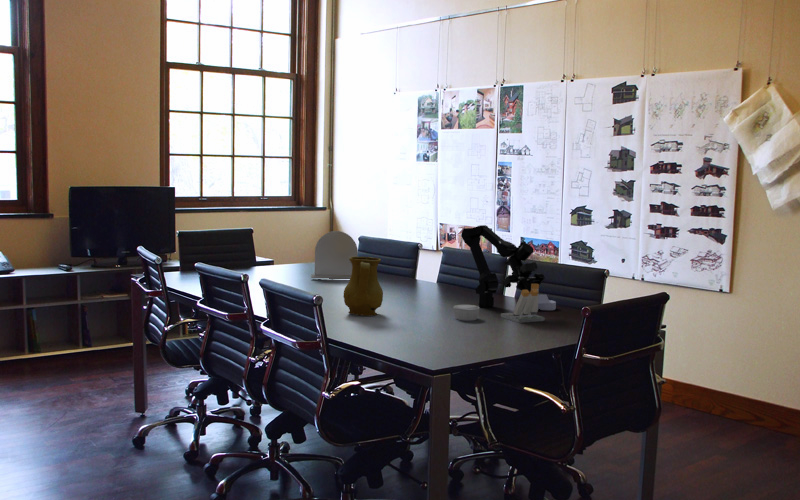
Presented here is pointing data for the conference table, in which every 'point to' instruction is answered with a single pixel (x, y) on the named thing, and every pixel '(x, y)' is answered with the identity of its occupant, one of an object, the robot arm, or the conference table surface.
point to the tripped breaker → (535, 305)
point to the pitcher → (363, 287)
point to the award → (334, 256)
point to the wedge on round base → (545, 303)
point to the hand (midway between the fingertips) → (531, 295)
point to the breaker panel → (522, 317)
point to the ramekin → (466, 312)
